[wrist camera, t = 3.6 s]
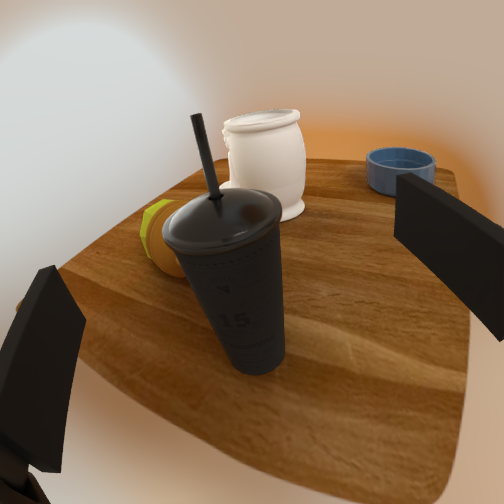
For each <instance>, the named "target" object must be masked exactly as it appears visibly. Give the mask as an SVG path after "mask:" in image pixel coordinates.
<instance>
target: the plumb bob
mask: <svg viewBox="0 0 504 504" xmlns="http://www.w3.org/2000/svg"><path fill="white" fill-rule="evenodd" d="M190 201H191V200H186V199H181V200H167V199H163V200H161V201H159V202H158V203H156V204H154V205H153V206H151V207H149V208H148V209H146V210H145V211H144V215H143V220H142V225H141V230H140V237H141V240H142V242H143V245H144V248H145V251H146V253H147V256H148V257H149V258H151V259H152V261H153V262H154V263H155V264H156V265H157V266H158V267H159V268H160V269H161V270H162V271H163V272H165V273H167V274H169V275H171V276H174V277H180V278H185V277H186V276H185V274H184V272H183V270H182V268H181V266H180V263H179V261H178V259H177V257H176V255H175V253H174V251H173V250H171V249H170V248H169V247H168V246H167V245H166V244H165V242H164V239H163V236H162V228H163V225H164V223H165V222H166V220H167V219H168V218H169V217H170V216H171V215H172V214H173V213H174V212H175V211H177V210H178V209H179V208H181V207H182V206H184V205H185V204H187V203H188V202H190Z"/></svg>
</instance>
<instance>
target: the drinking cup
mask: <svg viewBox="0 0 504 504" xmlns="http://www.w3.org/2000/svg"><path fill="white" fill-rule="evenodd" d="M190 119H191V122H192V127H193V131H194V135H195V139H196V143H197V147H198V152H199V156H200V159H201V163H202V167H203V171H204V175H205V179H206V183H207V187H208V191H209V192H208V193H205V194H203V195H200V196H198V197H196V198H194V199H193V200H191V201H190V202H188V203H187V204H185V205H184V206H182V207H181V208H179V209H178V210H177V211H175V212H174V213H173V214H172V215H171V216H170V217H169V218H168V219H167V220H166V222H165V223H164V225H163V228H162V236H163V239H164V242H165V244H166V245H167V246H168V247H169V248H170V249H171V250H173V251H174V253H175V255H176V257H177V259H178V261H179V263H180V266H181V268H182V270H183V272H184V274H185V276H186V278H187V280H188V282H189V284H190V285H191V287H192V289H193V291H194V293H195V295H196V297H197V299H198V301H199V303H200V305H201V307H202V309H203V311H204V313H205V314H206V316H207V318H208V320H209V322H210V324H211V326H212V328H213V329H214V331H215V333H216V335H217V337H218V339H219V341H220V342H221V344H222V346H223V348H224V350H225V351H226V353H227V355H228V357H229V359H230V360H231V362H232V364H233V365H234V367H235V368H236V369H237V370H239V371H240V372H242V373H245V374H249V375H260V374H265V373H267V372H270V371H272V370H273V369H275V368H276V367H277V366H278V365H279V364H280V363H281V361H282V360H283V358H284V355H285V335H284V309H283V287H282V266H281V247H280V229H279V222H280V220H281V218H282V205H281V202H280V201H279V199H278V198H277V197H276V196H274V195H273V194H271V193H268V192H265V191H261V190H255V189H244V188H225V189H220V188H219V184H218V180H217V176H216V172H215V168H214V164H213V159H212V155H211V151H210V147H209V143H208V138H207V134H206V130H205V126H204V121H203V117H202V114H201V113H198V114H194V115H191V116H190Z"/></svg>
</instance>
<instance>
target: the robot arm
mask: <svg viewBox="0 0 504 504" xmlns="http://www.w3.org/2000/svg"><path fill="white" fill-rule="evenodd" d="M394 237H395V238H396V239H397V240H398V241H400V242H401V243H402V244H403V245H404V246H405V247H406V248H407V249H408V250H410V251H411V252H412V253H413V254H414V255H415V256H416V257H417V258H418V259H419V260H420V261H421V262H423V263H424V264H425V265H426V266H427V267H428V268H429V269H430V270H431V271H432V272H433V273H434V274H435V275H436V276H437V277H438V278H439V279H440V280H441V281H442V282H443V283H444V284H445V285H446V286H447V287H448V288H449V289H450V290H451V291H452V292H453V293H454V294H455V295H456V296H457V297H458V298H459V299H460V300H461V301H462V302H463V303H464V304H465V305H466V306H467V307H468V308H469V309H470V310H471V311H472V312H473V313H474V314H475V315H476V317H477V318H478V319H479V320H480V321H481V322H482V323H483V324H484V325H485V326H486V327H487V328H488V330H489V331H490V332H491V333H492V334H493V335H494V336H495V337H496V338H497V340H498V341H499V342H501V341H502V340H503V339H504V228H502V227H501V226H499V225H498V224H495V223H493V222H492V221H491V220H489V219H488V218H486V217H485V216H483V215H482V214H480V213H478V212H477V211H476V210H474V209H472V208H471V207H469V206H468V205H466V204H465V203H463V202H462V201H460V200H458V199H457V198H455V197H453V196H452V195H450V194H448V193H447V192H445V191H443V190H442V189H440V188H438V187H437V186H435V185H433V184H431V183H430V182H428V181H426V180H424V179H423V178H421V177H419V176H417V175H415V174H414V173H412V172H410V173H404V174H399V175H396V205H395V225H394ZM85 323H86V318H85V317H84V315H83V314H82V312H81V310H80V309H79V307H78V305H77V304H76V302H75V300H74V299H73V297H72V295H71V294H70V292H69V290H68V288H67V287H66V285H65V283H64V281H63V280H62V278H61V276H60V274H59V272H58V270H57V269H56V267H55V265H52V266H49V267H46V268H43V269H40V270H39V271H38V273H37V274H36V277H35V278H34V280H33V282H32V284H31V286H30V288H29V289H28V291H27V293H26V295H25V297H24V299H23V301H22V303H21V305H20V307H19V309H18V312H17V314H16V316H15V318H14V320H13V322H12V325H11V327H10V329H9V331H8V333H7V336H6V338H5V340H4V343H3V345H2V347H1V350H0V504H51V503H50V502H49V500H48V499H47V497H46V495H45V494H44V492H43V490H42V489H41V487H40V485H39V483H38V482H37V480H36V478H35V477H34V476H33V474H32V473H30V472H28V467H29V464H30V465H32V466H33V467H35V468H36V469H38V470H40V471H41V472H48V473H61V465H62V453H63V443H64V435H65V427H66V419H67V412H68V406H69V400H70V394H71V388H72V382H73V377H74V372H75V367H76V362H77V358H78V353H79V348H80V344H81V340H82V336H83V331H84V327H85Z"/></svg>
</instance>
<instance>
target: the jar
mask: <svg viewBox="0 0 504 504" xmlns="http://www.w3.org/2000/svg"><path fill="white" fill-rule="evenodd" d="M299 119H300V113H299V111H297V110H294V109H273V110H265V111H258V112H253V113H248V114H244V115H240V116H237V117H234V118H231V119H229V120H227V121H225V122H224V127H225V129H226V130H227V131H228V132H230V155H231V161H232V165H233V169H234V172H235V175H236V177H237V179H238V182H239V184H240V187H241V188H244V189H255V190H261V191H265V192H268V193H271V194H273V195H274V196H276V197H277V198H278V199H279V201H280V202H281V205H282V218H281V220H280V222H282V221H286V220H289V219H292V218H294V217H296V216H298V215H299V214H301V213H302V212H303V210H304V208H305V204H304V202H303V200H302V199H301V197H302V194H303V191H304V187H305V170H306V153H305V145H304V141H303V137H302V134H301V131H300V128H299V126H298V124H297V121H298V120H299Z"/></svg>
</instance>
